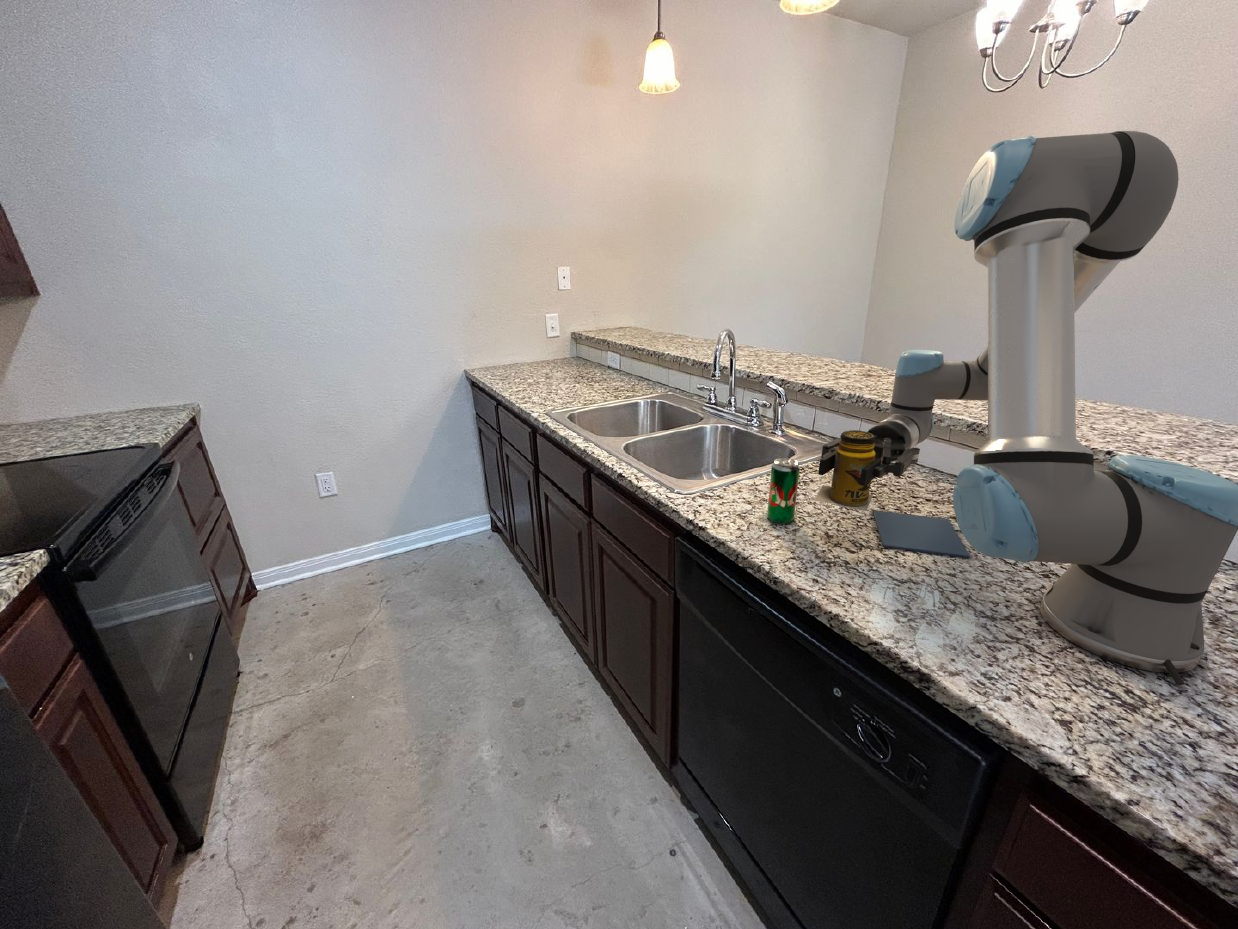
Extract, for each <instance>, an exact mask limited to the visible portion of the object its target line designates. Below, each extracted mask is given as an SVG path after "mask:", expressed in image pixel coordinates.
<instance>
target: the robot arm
mask: <svg viewBox="0 0 1238 929" xmlns="http://www.w3.org/2000/svg"><path fill="white" fill-rule="evenodd" d="M1178 167H1179V166H1178V163H1177V159H1176V158H1175V155H1174V153H1173V152H1172V150H1171V149H1170V147H1169V145H1167V144H1166V143H1165V142H1164V141H1162V140H1161V139H1159V138H1158V137H1157V136H1155V135H1151V134H1149V133H1147V132H1143V131H1137V130H1117V131H1113V132H1100V133H1087V134H1073V135H1061V136H1047V137H1046V136H1044V137H1036V135H1028V136H1027V137H1019V138H1012V139H1006V140H1001V141H999V142H997V143H995V144H993V145H992V146H990V147H989V148H988V149H987V150H985V152H984V153H983V154H982V155H981V157H980V158H979V159H978V160H977V161H976V163H975V165H974V167H973V168H972V170H971V172H970V173H969V176H968V177H967V179H966V182H965V184H964V186H963V188H962V191H961V194H960V197H959V199H958V203H957V206H956V210H955V216H954V232H955V235H956V237H957V238H958V239H960V240H963V241H965V242H969V241H973V244H974V245H973V247H974V249H973V250H974V251H973V252H974V253H973V254H974V255H973V257H974V260H975V262H977V263H978V264H980V265H982V266H984V267H986V268H987V344H986V346H985V347H984V348H983V349H982V351H981V353H980V354H979V355H978V356H977V357H976V359H975V360H944V353H942V352H941V351H938V350H931V349H908V350H904V351H903V352H902V353H901V354H900V356H899V358H898V361H897V365H896V370H895V373H894V382H893V388H892V396H891V401H890V404H889V411H888V415H887V418H885V419H884V420H882V421H880V422H878V423H877V424H875V425H874V426H872V427H871V428H869V429H868V430H867V431H866V432H869V433H871V434H873V435H874V436H875V443H874V445H875V446H874V451H875V454H876V455H875V460H874V461H873V462H871V463H870V464H869V465H867V466H866V467H864V468H863V469H862V472H861V478H860V484H859V485H862V486H865V485H866V484H868V483H869V482H870V481H871V482H872V481H873V480H874V479H876V478H877V479H880V478H883V477H884V476H888V475H889V474H892V476H894V477H897V478H898V477H902V476H903V474H904V473H905V472H906V471H907V470H908V469H909V468H910V467H911V465H914V464H916V463H918V462H919V456H920V451H921V448H919V447H916V446H917V445H919V444H920V443H922V442H924V441H926V439H927V438H928V436H930V435H931V433H932V431H933V429H934V427H935V420H934V416H933V409H934V405H935V401H936V400H943V401H946V400H950V401H951V400H953V401H981V402H982V401H986V402H987V441H986V442H985V443H984V445H982V446H981V447H980V448H978V449H977V450H976V452H974V453H973V464H971V465H969V466H966V467H965V468H963V469H961V471H960V472H959V473H958V475H957V476H956V479H955V482H956V484H955V485H954V486H953V490H952V491H953V492H952V502H953V511H954V516H955V519H956V522H957V526H958V528H959V530H960V533H961V534H962V535H963V536H964V538H965V540H966V541H967V543H968V544H969V545H970V546H971V547H972V548H973V549H974V550H975V551H977V552H978V553H980V554H981V555H984V556H986V557H989V558H994V559H1003V560H1011V561H1014V562H1020V563H1030V562H1037V563H1054V564H1069V565H1070V564H1071V565H1070V566H1069V567H1068V568H1067V569H1066V570H1065V571H1064V572H1063V573H1062V574H1061V575H1060V576H1059V578H1057V580H1056V581H1055V579H1053V580H1052V581H1051V582H1050V583H1049V584H1048V586H1047V588H1046V591H1045V592H1044V593H1043V596H1042V599H1041V602H1040V605H1039V611H1040V615H1041V617H1042V618H1043V619H1044V621H1045V622H1046V623H1047V624H1048V625H1049V626H1050V627H1051V628H1052V629H1053V630H1054V631H1055V632H1057V633H1058V634H1059V635H1061V636H1062V637H1063V638H1065V639H1066V640H1068V641H1070V642H1071V643H1073V644H1075V645H1076V646H1079V647H1080V648H1082V649H1083V650H1086V651H1088V652H1090V653H1092V654H1094V655H1097V656H1099V657H1102V658H1104V659H1106V660H1109V661H1112V662H1115V663H1117V664H1121V665H1124V666H1127V667H1131V668H1135V669H1139V670H1144V671H1150V672H1156V673H1167V674H1169V676H1170V677H1171V679H1172V680H1173V682H1174V684H1175V685H1176V686H1184V685H1186V683H1185V681H1184V679H1183V678H1182V677H1181V675H1180V673H1184V672H1189V671H1191V670H1193V669H1195V668H1196V667H1197V666H1198V665H1199V663H1200V661H1201V659H1202V657H1203V654H1204V653H1205V634H1204V619H1203V606H1202V604H1203V601H1204V598H1205V596H1206V594H1207V593H1208V591H1209V588H1210V586H1211V584H1212V583H1213V580H1214V578H1215V576H1216V574H1217V572H1218V571H1219V568H1220V567H1221V564H1222V562H1223V560H1224V558H1225V557H1226V555H1227V552H1228V551H1229V548H1230V546H1231V544H1232V542H1233V540H1234V539H1235V536H1236V534H1237V532H1238V484H1237V483H1235V482H1233V481H1231V480H1229V479H1227V478H1225V477H1222V476H1220V475H1217V474H1214V473H1211V472H1210V471H1209V472H1208V471H1205V470H1202V469H1200V468H1197V467H1193V466H1189V465H1185V464H1181V463H1178V462H1174V461H1170V460H1165V459H1161V458H1155V457H1150V456H1144V455H1136V454H1118V455H1115V456H1113V457H1111V459H1110V461H1108V462H1106V467H1107V469H1106V470H1095V466H1094V465H1095V464H1094V462H1095V461H1094V460H1095V459H1094V451H1093V450H1091V449H1090V448H1089V447H1087V446H1086V445H1084V444H1083V443H1081V442H1080V441H1079V440H1078V439H1077V421H1076V420H1077V419H1076V418H1077V416H1076V411H1077V409H1076V408H1077V406H1076V342H1075V341H1076V340H1075V339H1076V333H1075V332H1076V331H1075V330H1076V329H1075V324H1076V323H1075V314H1076V313H1077V312H1078V310H1079V309H1080V308H1081V307H1082V305H1083V304H1084V303H1085V302H1086V301H1087V300H1088V299H1089V298H1090V296H1092V294H1094V292H1095V291H1096V290H1097V289H1098V287H1100V285H1101V284H1102V283H1103V282H1104V281H1105V280H1106V279H1107V277H1108V276H1109V275H1110V274H1111V273H1112V272H1113V270H1114V269H1116V267H1117V266H1118V265H1119V264H1120V262H1123V261H1127V260H1130V259H1132V258H1134V257H1136V256H1137V255H1138V254H1139V253H1140V252H1141V251H1142V250H1143V249H1144V248H1145V247H1146V246H1147V245H1148V244H1149V243H1150V241H1151V240H1152V239H1153V238H1154V237H1155V236H1156V234H1157V233H1158V232H1159V230H1160V229H1161V228H1162V226H1163V224H1164V223H1165V221H1166V220H1167V218H1168V216H1169V214H1170V212H1171V210H1172V208H1173V205H1174V202H1175V199H1176V196H1177V193H1178V192H1177V191H1178V187H1179V180H1180V179H1179V168H1178ZM840 440H841V437H840V436H839V437H837V438H836V439H834V440H831V441H829V442H827V443H825V444H822V448H821V454H820V455H821V456H820V459H819V465H818V472H817V475H819V476H821V477H822V476H824V475H826V474H827V473H830V471H832V470H834V463H835V456H836V449H837V448H838V447H839V442H840Z"/></svg>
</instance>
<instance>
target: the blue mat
mask: <svg viewBox="0 0 1238 929" xmlns="http://www.w3.org/2000/svg"><path fill="white" fill-rule="evenodd" d="M872 514H873V517H874V520H875V523H876V524H875V525H876V527H877V530H878V534H879V538H880V541H881V544H882V547H883V548H890V549H900V550H905V551H913V552H921V553H928V554H936V555H944V556H951V557H959V558H966V559H969V558H971V555H970V553H969V552H968V550H967V549H966V546H965V545H964V543H963V542H962V540H961V538H960V537H959V534H958V533H957V532H956V530H955V528H954V527H953V525H952V523H951V521H950V520H949V518H945V517H935V516H929V515H918V514H909V513H902V512H901V513H900V512H893V511H892V512H891V511H884V510H883V511H881V510H872Z"/></svg>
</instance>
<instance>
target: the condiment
mask: <svg viewBox="0 0 1238 929" xmlns="http://www.w3.org/2000/svg"><path fill="white" fill-rule="evenodd" d="M840 437H841V440H840V442H839V447H838V448H837V449H836V456H835V463H834V468H833V473H832V477H831V478H832V479H831V486H830V485H825V484H822V486H821V488H820V489H819V491H818V492H817V494H816V495H815V497H814V498H813V501H814V502H820V503H826V504H829V505H835V506H839V507H843V508H848V509H853V510H858V511H864V512H866V511H868V508H869V507H870V504H871V501H872V499H873V496H874V494H871V493H870V490H871V485H872V481H870V482H869V483H868V484H866V485H865V486H862V485H859V484H860V478H861V472H862V469H863V468H864V467H866V466H867V465H869V464H870V463H871V462H873V461H874V460H875V455H876V454H875V451H874V446H875V445H874V443H875V436H874V435H873V434H871V433H869V432H867V431H864V430H857V429H855V430H854V429H851V430H844V431H843V432H842V433H840V436H839V438H840Z"/></svg>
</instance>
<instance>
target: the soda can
mask: <svg viewBox="0 0 1238 929" xmlns="http://www.w3.org/2000/svg"><path fill="white" fill-rule="evenodd" d="M800 470H801V467H800V466H799V461H797V460H796V459H793V458H790V457H778V458H775V459H774V460H773V463H772V465H771V468H770V480H769V481H770V482H769V490H768V491H769V492H768V500H767V501H768V502H767V511H766V516H767V518H768V519H769V520H770V521H771V522H773V523H777V524H781V525H783V524H790V523H791V522H793V521H794V519H795V513H796V504H797V496H798V489H799V480H800Z"/></svg>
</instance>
